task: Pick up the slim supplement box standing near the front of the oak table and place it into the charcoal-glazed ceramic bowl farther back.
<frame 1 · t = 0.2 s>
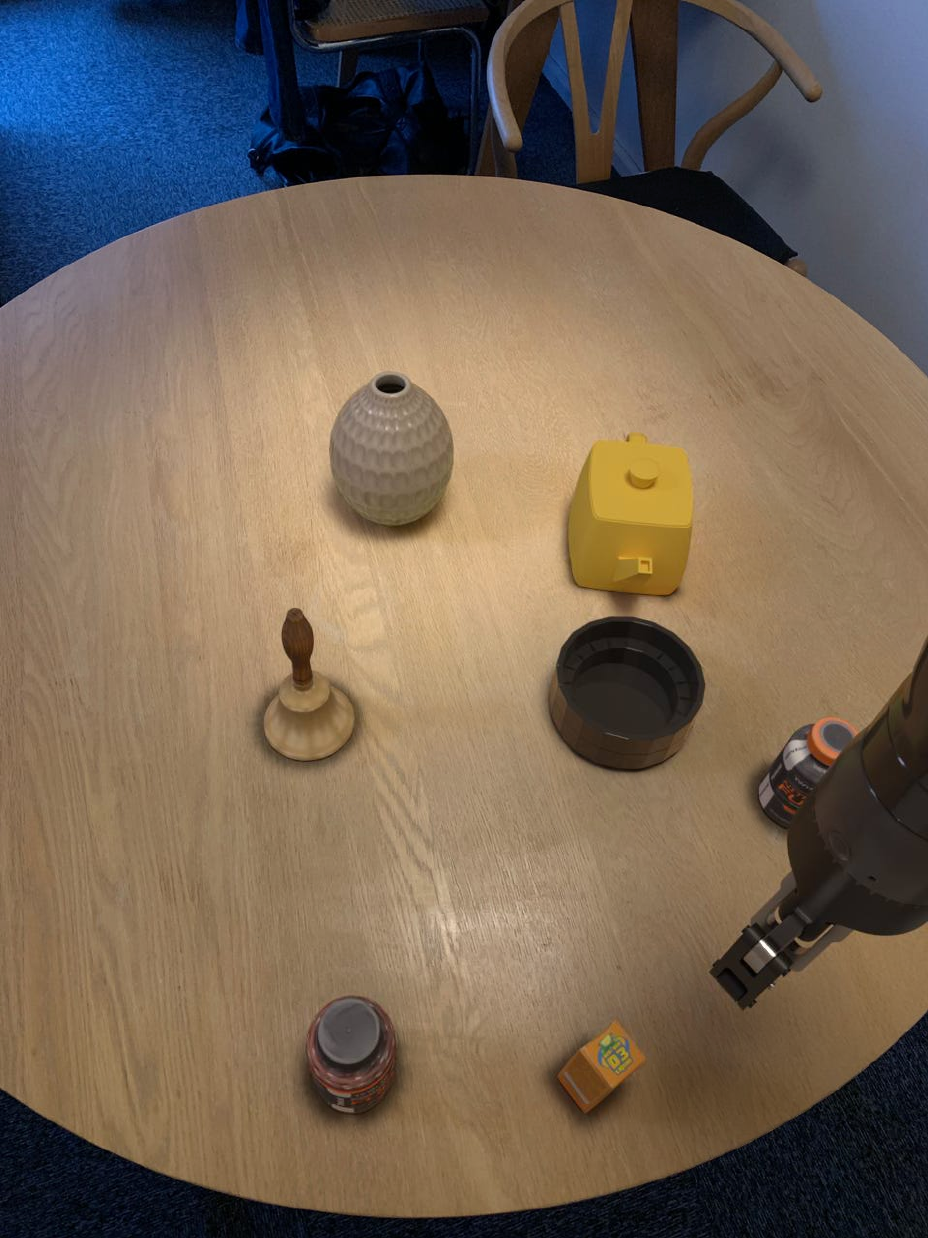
hand: (784, 940, 55), 20 cm above the table, tool pointing down, fingers open, 8 cm apart
teapot: (622, 554, 100), on the table
pill bottle: (790, 801, 83), on the table
vase: (392, 506, 103), on the table
supplement box: (587, 1084, 68), on the table
supplement bottle: (355, 1071, 68), on the table
bowl: (618, 710, 88), on the table
hand bell: (309, 722, 86), on the table
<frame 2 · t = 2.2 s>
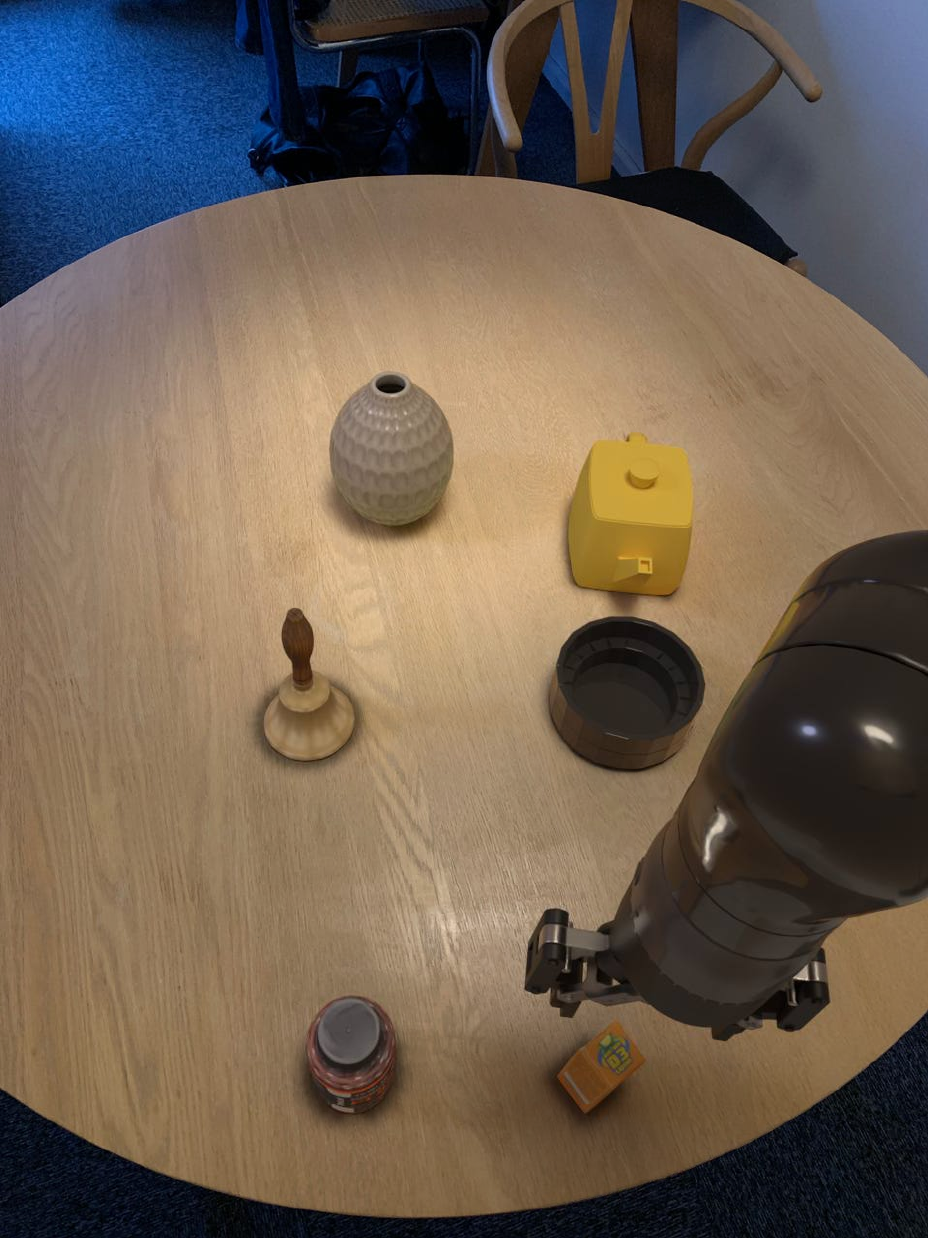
hand: (641, 1010, 53), 20 cm above the table, tool pointing down, fingers open, 8 cm apart
nothing on the table moved.
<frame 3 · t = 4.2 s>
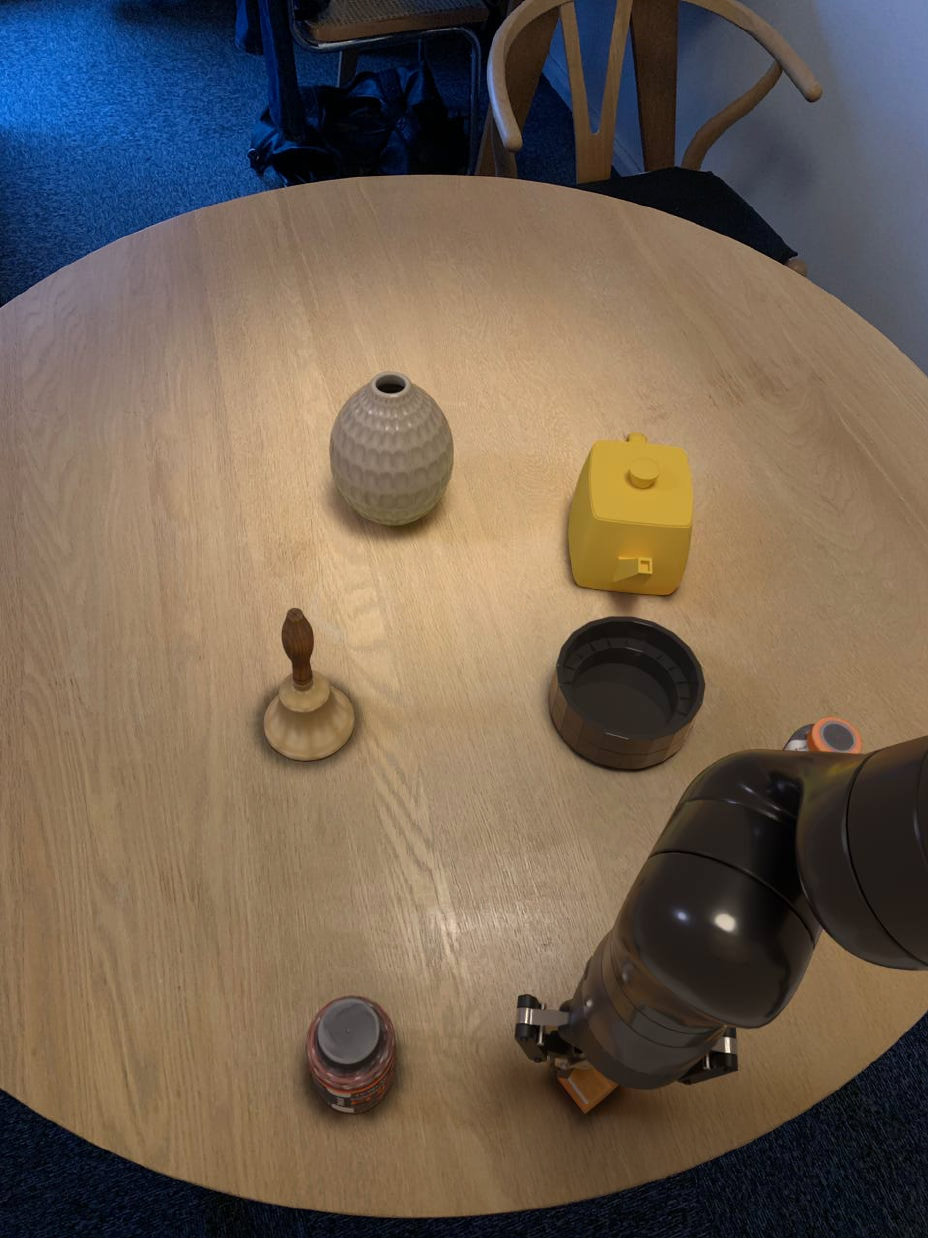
hand: (600, 1067, 64), 5 cm above the table, tool pointing down, fingers closed on supplement box, 4 cm apart
supplement box: (587, 1084, 68), on the table, touching gripper
everything else where it was.
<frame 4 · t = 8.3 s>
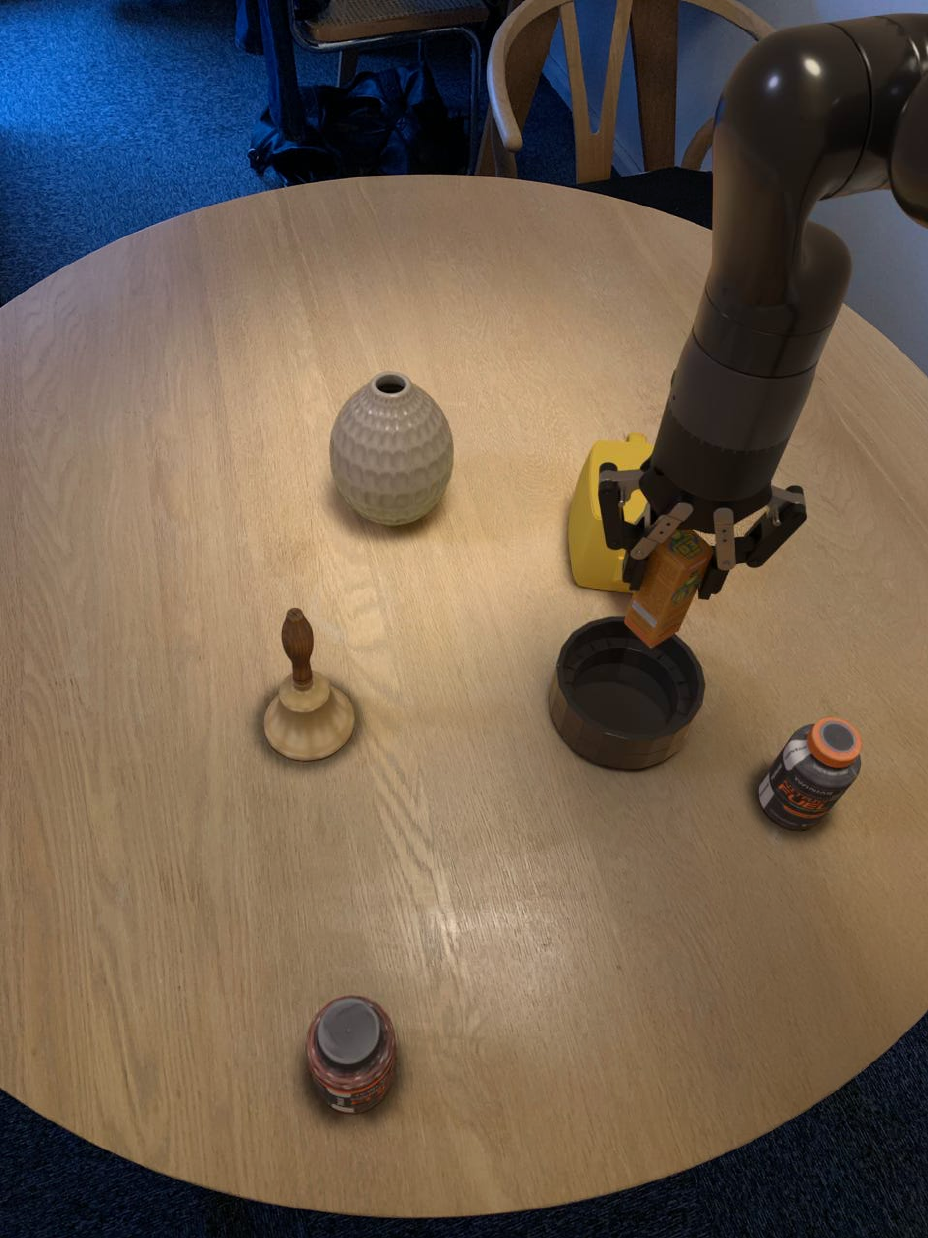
hand: (668, 585, 68), 22 cm above the table, tool pointing down, fingers closed on supplement box, 4 cm apart
supplement box: (652, 629, 73), point 17 cm above the table, touching gripper
everything else where it was.
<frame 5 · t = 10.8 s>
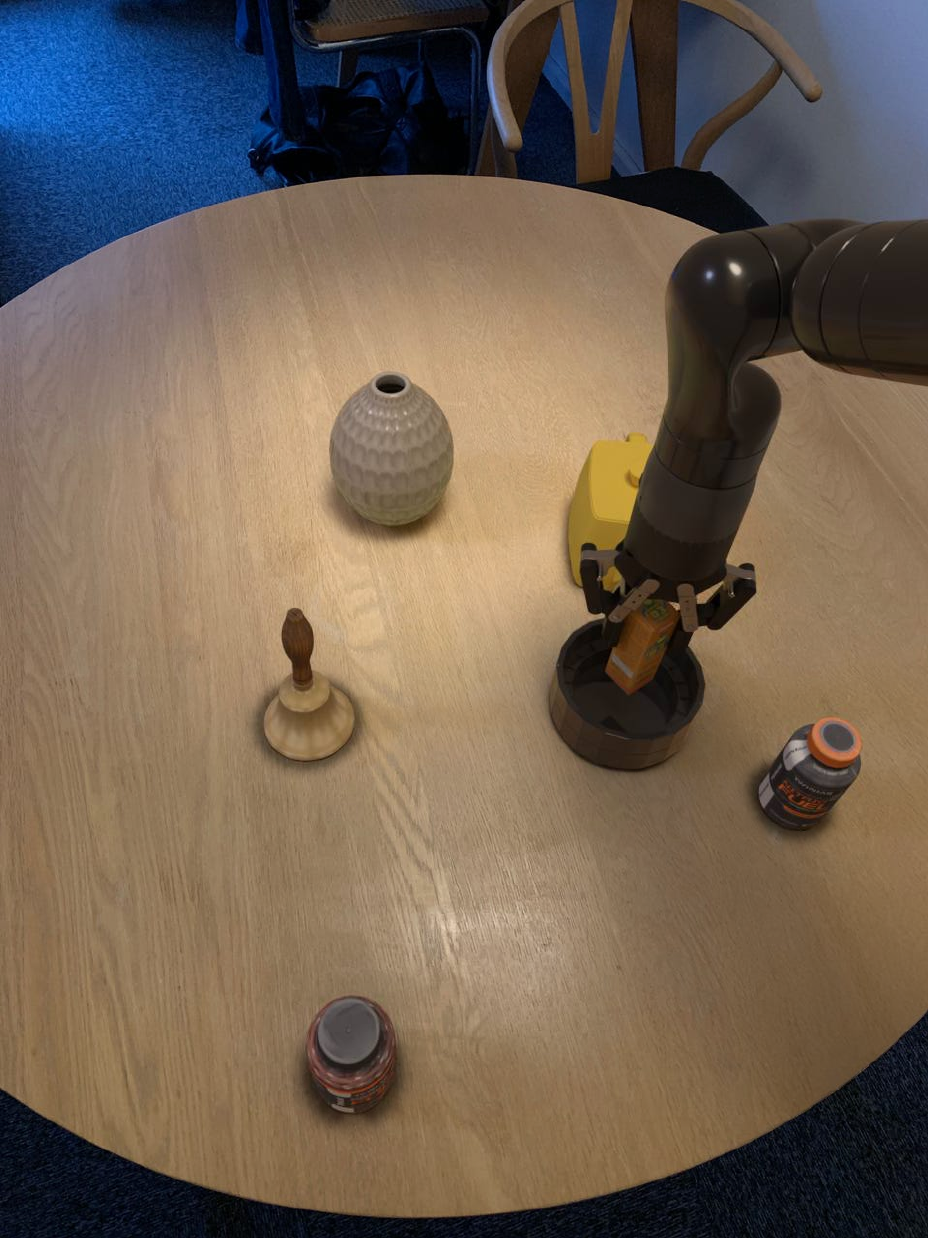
hand: (642, 642, 79), 11 cm above the table, tool pointing down, fingers closed on supplement box, 4 cm apart
supplement box: (630, 678, 83), point 6 cm above the table, touching gripper
everything else where it was.
when the fingers open (6 cm above the table, at t = 12.5 s): supplement box stays where it is, resting on bowl.
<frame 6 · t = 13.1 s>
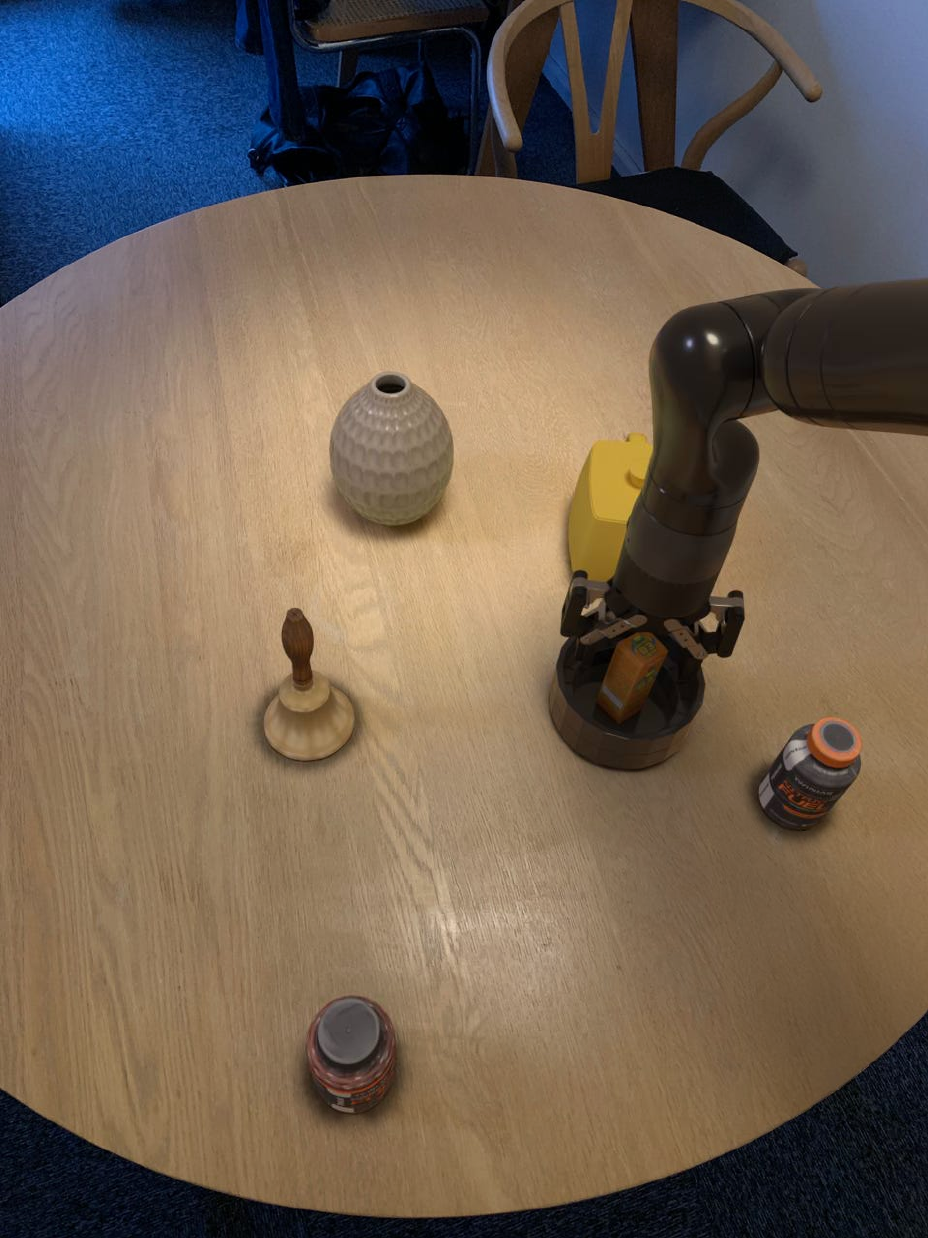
hand: (634, 665, 82), 7 cm above the table, tool pointing down, fingers open, 8 cm apart
supplement box: (619, 707, 87), point 1 cm above the table, touching bowl
everything else where it was.
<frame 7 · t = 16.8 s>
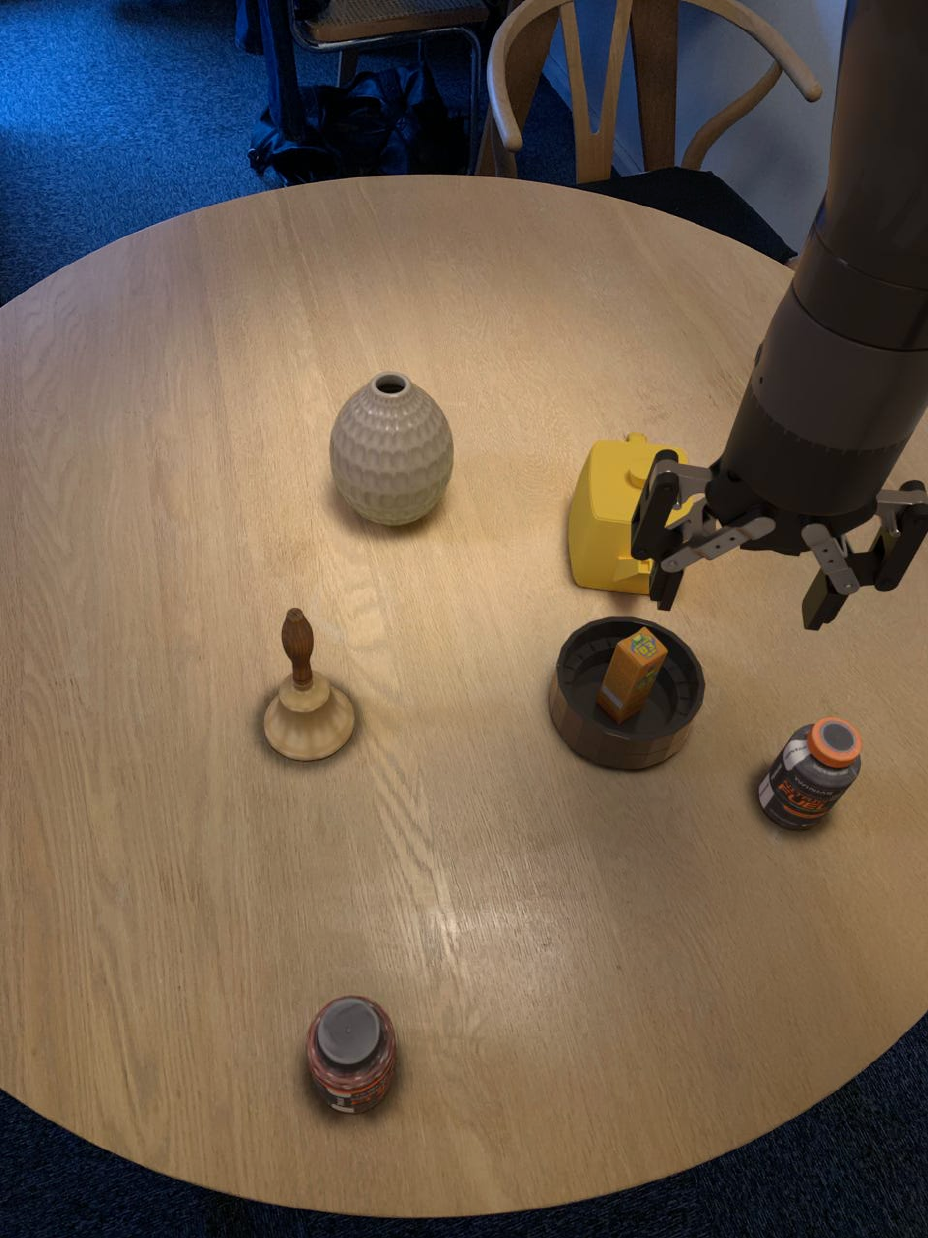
hand: (735, 609, 55), 32 cm above the table, tool pointing down, fingers open, 8 cm apart
nothing on the table moved.
at the end: supplement box inside the target area in the bowl (0.1 cm from its centre), point 0.6 cm above the bowl's base; the gripper is holding nothing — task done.
